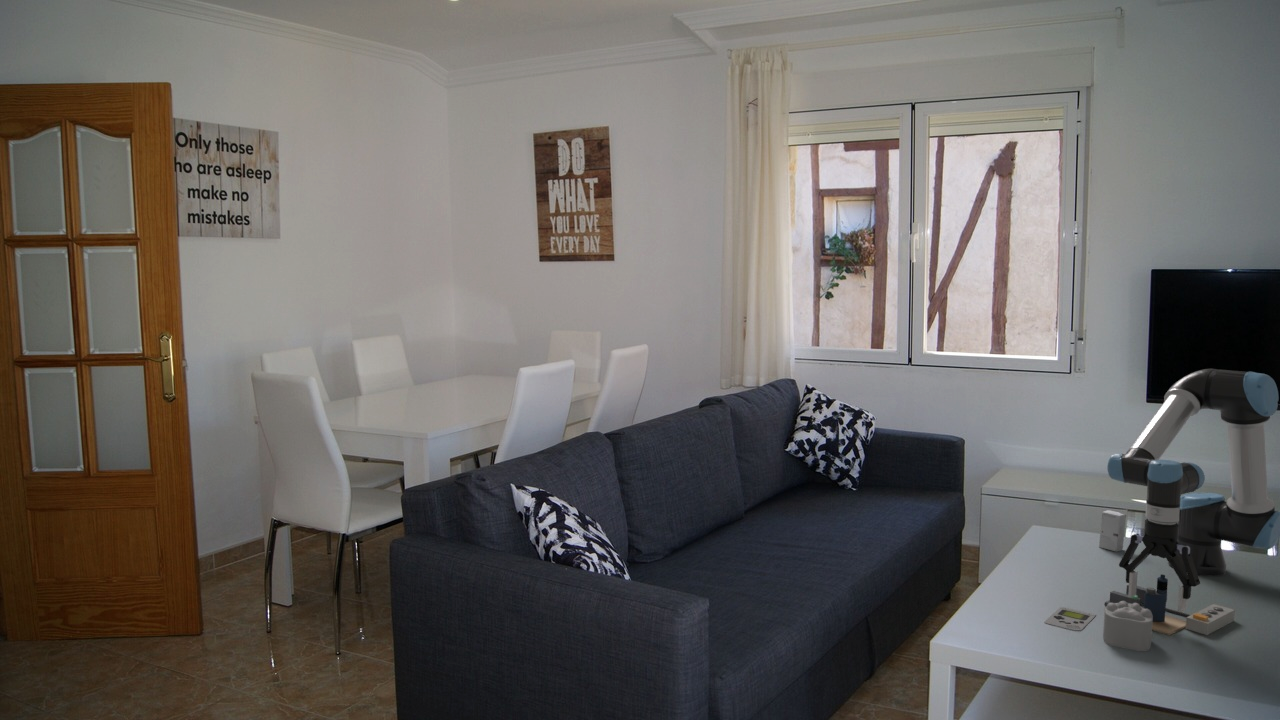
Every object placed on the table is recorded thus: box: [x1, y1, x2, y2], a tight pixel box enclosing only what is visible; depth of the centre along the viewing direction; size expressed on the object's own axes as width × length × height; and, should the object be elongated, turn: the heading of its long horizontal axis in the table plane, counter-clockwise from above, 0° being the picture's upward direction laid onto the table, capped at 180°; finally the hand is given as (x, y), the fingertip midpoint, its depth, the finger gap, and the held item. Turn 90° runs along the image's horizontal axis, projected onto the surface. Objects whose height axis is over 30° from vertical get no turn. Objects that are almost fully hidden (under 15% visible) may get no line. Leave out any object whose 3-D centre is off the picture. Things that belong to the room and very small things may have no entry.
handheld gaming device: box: [1044, 606, 1097, 632], centre depth 235 cm, size 9×1×15 cm
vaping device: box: [1143, 574, 1169, 622], centre depth 233 cm, size 3×5×12 cm, turn 81°
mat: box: [1152, 614, 1186, 636], centre depth 234 cm, size 12×12×1 cm
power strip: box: [1185, 603, 1236, 636], centre depth 232 cm, size 16×5×4 cm, turn 126°
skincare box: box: [1098, 509, 1127, 552], centre depth 295 cm, size 6×4×12 cm
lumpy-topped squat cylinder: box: [1102, 601, 1153, 652], centre depth 222 cm, size 10×13×9 cm
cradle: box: [1104, 584, 1191, 618], centre depth 240 cm, size 11×21×5 cm, turn 36°
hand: (1156, 602), depth 233 cm, fingers open, 11 cm apart
